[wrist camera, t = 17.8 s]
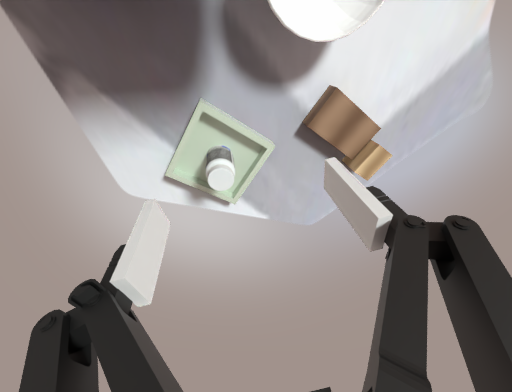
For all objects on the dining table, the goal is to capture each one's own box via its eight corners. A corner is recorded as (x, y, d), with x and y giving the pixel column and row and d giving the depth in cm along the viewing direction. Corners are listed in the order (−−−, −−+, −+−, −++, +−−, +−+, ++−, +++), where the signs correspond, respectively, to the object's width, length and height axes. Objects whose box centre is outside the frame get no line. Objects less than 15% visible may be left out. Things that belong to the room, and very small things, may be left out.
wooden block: (341, 160, 43) (354, 171, 39) (363, 135, 41) (379, 145, 37) (353, 168, 45) (367, 180, 41) (375, 145, 42) (392, 155, 38)
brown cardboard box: (301, 121, 38) (307, 126, 35) (328, 84, 35) (337, 87, 32) (344, 153, 43) (351, 159, 40) (370, 123, 40) (380, 128, 38)
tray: (167, 168, 39) (164, 175, 36) (200, 97, 33) (199, 101, 31) (234, 197, 44) (235, 204, 42) (272, 141, 39) (275, 146, 36)
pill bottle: (201, 153, 37) (197, 177, 30) (222, 139, 36) (224, 159, 30) (217, 172, 40) (217, 198, 33) (238, 159, 39) (242, 183, 32)
